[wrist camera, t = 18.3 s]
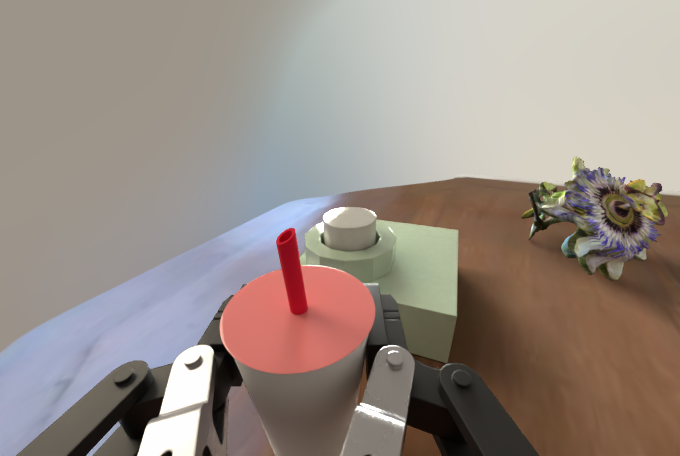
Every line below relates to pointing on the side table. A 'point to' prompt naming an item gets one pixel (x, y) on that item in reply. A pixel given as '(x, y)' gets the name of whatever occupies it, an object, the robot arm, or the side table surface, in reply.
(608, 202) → the passion flower
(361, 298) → the cup
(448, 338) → the green button box
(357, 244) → the button
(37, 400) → the side table surface
